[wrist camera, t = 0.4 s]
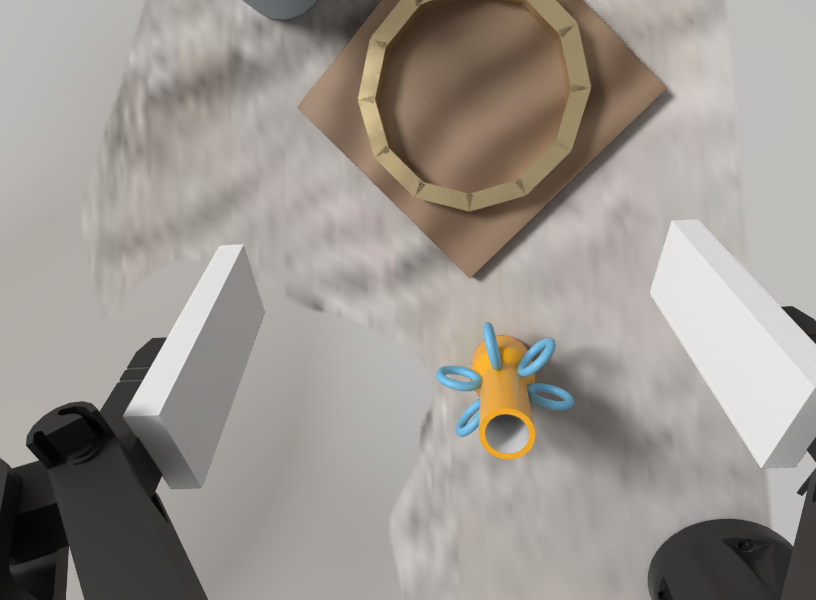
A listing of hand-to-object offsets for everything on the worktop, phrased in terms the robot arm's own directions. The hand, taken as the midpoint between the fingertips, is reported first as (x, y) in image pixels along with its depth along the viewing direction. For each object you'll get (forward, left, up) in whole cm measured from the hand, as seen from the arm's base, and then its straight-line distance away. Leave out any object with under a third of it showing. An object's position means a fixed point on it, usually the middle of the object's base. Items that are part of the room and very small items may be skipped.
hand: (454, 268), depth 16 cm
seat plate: (+8, -7, -33) cm, 34 cm away
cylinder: (-12, +9, -33) cm, 36 cm away
